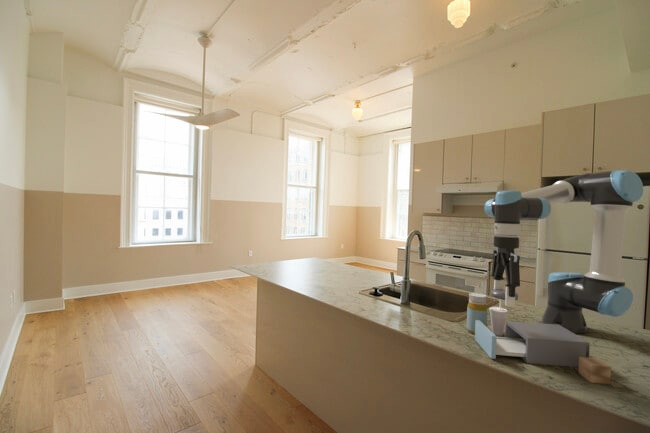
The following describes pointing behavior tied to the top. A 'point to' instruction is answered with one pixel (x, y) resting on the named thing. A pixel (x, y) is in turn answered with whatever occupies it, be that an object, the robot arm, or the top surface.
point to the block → (594, 370)
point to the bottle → (476, 311)
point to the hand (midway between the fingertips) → (503, 302)
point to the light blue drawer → (498, 343)
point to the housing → (549, 343)
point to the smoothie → (498, 319)
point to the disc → (500, 294)
